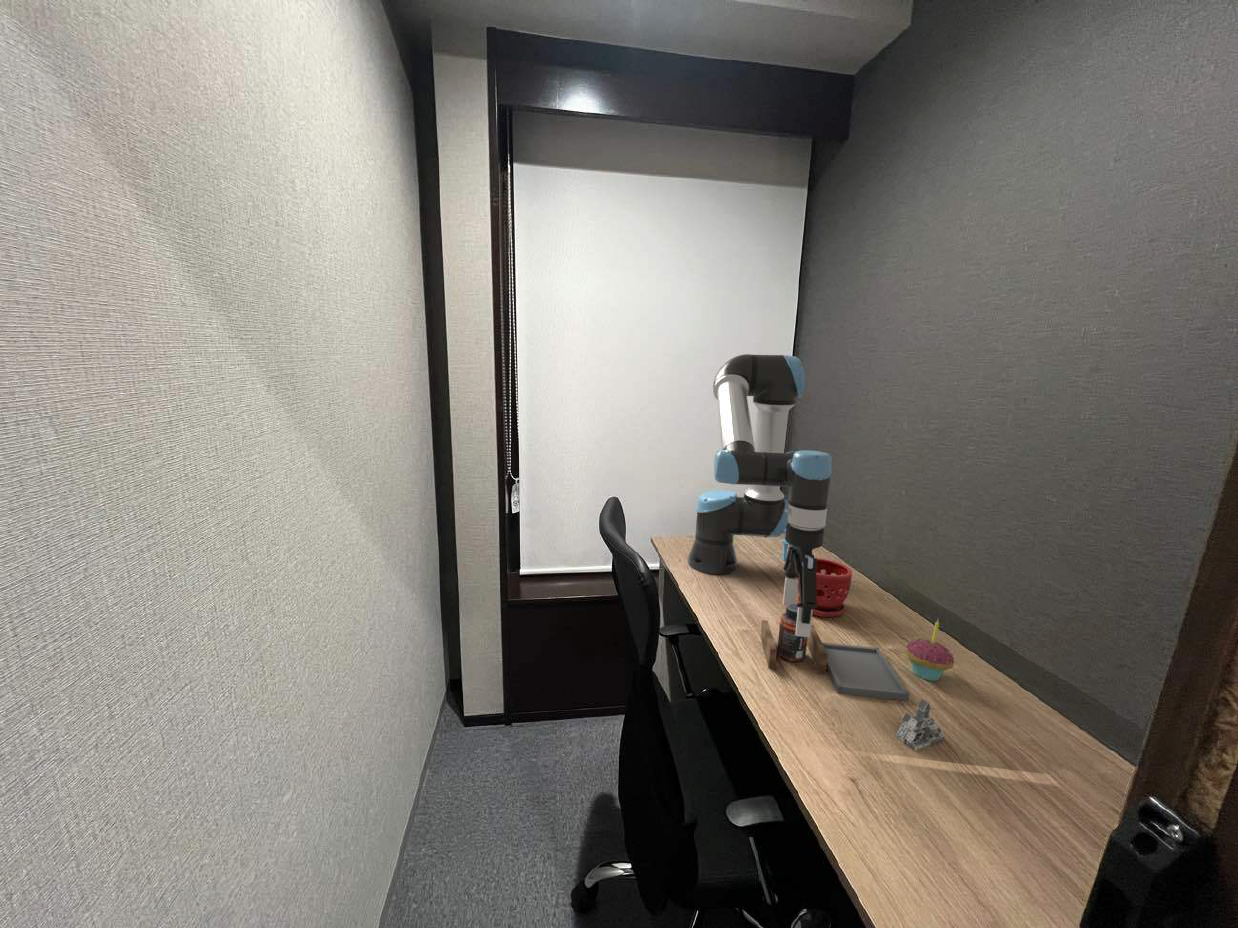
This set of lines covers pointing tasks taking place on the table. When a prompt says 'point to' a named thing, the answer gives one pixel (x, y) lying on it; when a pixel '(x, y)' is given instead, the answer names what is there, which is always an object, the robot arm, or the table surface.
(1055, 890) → the table surface
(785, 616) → the supplement bottle
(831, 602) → the plant pot
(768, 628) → the cradle
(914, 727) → the house of cards
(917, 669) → the cupcake
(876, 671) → the tray
